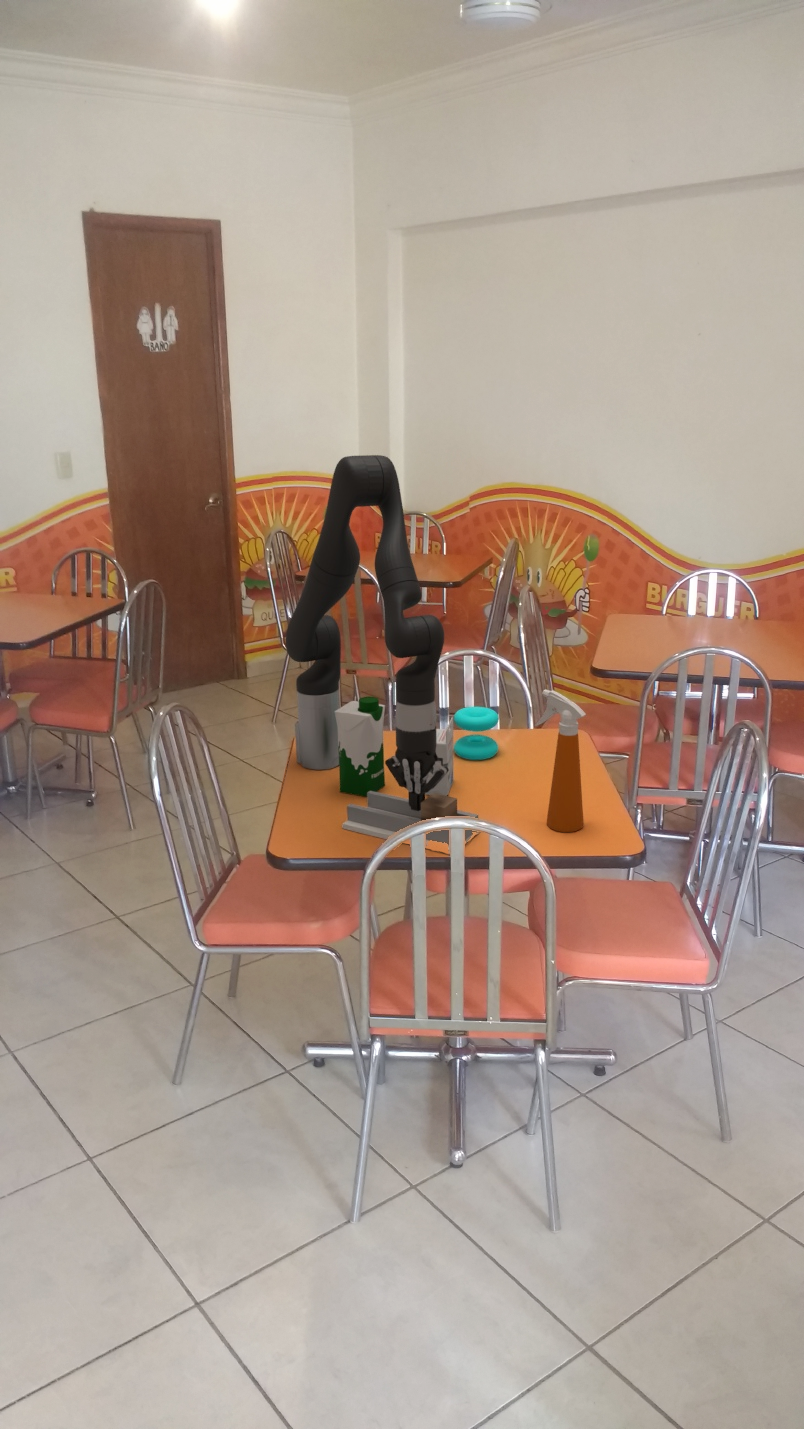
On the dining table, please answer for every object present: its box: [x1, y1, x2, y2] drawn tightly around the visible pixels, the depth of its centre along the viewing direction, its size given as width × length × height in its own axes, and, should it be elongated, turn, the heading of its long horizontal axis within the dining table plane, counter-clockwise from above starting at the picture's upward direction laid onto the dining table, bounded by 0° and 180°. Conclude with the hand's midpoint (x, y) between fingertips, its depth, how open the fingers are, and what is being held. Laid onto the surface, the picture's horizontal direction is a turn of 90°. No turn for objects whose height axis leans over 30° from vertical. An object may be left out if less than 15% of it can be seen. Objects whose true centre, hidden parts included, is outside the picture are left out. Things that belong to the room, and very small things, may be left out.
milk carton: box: [335, 696, 386, 798], centre depth 214 cm, size 9×9×20 cm
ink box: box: [425, 716, 454, 796], centre depth 215 cm, size 9×5×15 cm, turn 168°
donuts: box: [453, 706, 499, 761], centre depth 233 cm, size 10×10×10 cm
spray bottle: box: [534, 689, 586, 833], centre depth 196 cm, size 7×11×26 cm, turn 50°
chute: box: [341, 791, 480, 851], centre depth 198 cm, size 24×12×4 cm, turn 59°
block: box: [421, 793, 458, 820], centre depth 194 cm, size 5×5×6 cm
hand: (417, 809), depth 196 cm, fingers closed
